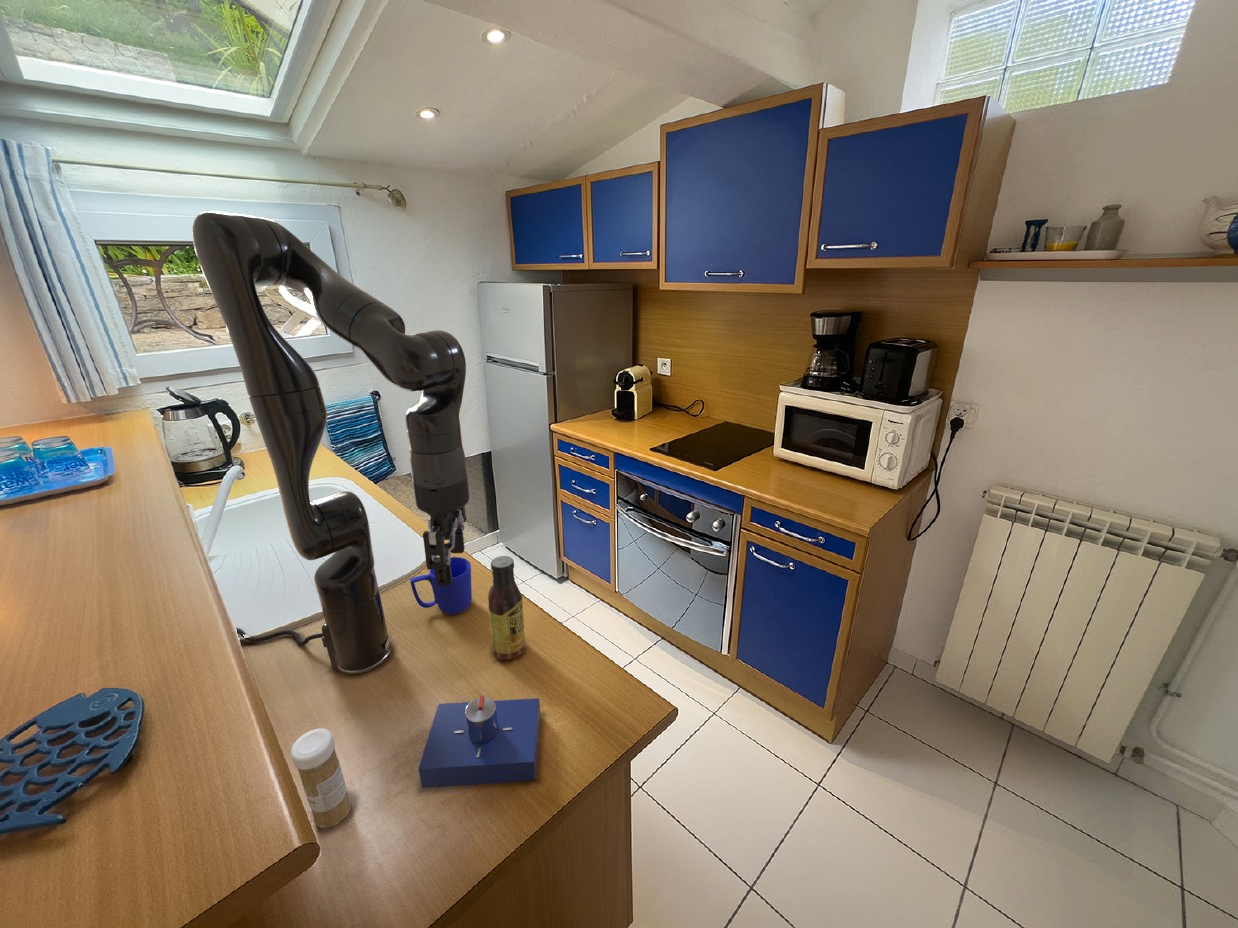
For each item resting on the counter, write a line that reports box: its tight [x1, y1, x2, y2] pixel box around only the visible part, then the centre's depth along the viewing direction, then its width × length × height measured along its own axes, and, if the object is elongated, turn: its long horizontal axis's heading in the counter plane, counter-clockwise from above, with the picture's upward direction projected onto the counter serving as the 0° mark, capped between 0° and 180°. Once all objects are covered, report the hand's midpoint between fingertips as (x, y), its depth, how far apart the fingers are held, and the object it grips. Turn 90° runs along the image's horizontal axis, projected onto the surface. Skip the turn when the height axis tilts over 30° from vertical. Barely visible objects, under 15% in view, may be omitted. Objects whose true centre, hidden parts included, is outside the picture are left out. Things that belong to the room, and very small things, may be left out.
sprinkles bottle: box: [290, 727, 352, 829], centre depth 64 cm, size 5×5×14 cm
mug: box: [409, 556, 473, 616], centre depth 104 cm, size 8×12×10 cm
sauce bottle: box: [487, 555, 526, 661], centre depth 91 cm, size 6×6×20 cm
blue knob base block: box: [418, 697, 541, 789], centre depth 75 cm, size 16×11×4 cm
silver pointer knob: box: [465, 695, 498, 744], centre depth 73 cm, size 4×4×5 cm
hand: (451, 567), depth 78 cm, fingers open, 8 cm apart
